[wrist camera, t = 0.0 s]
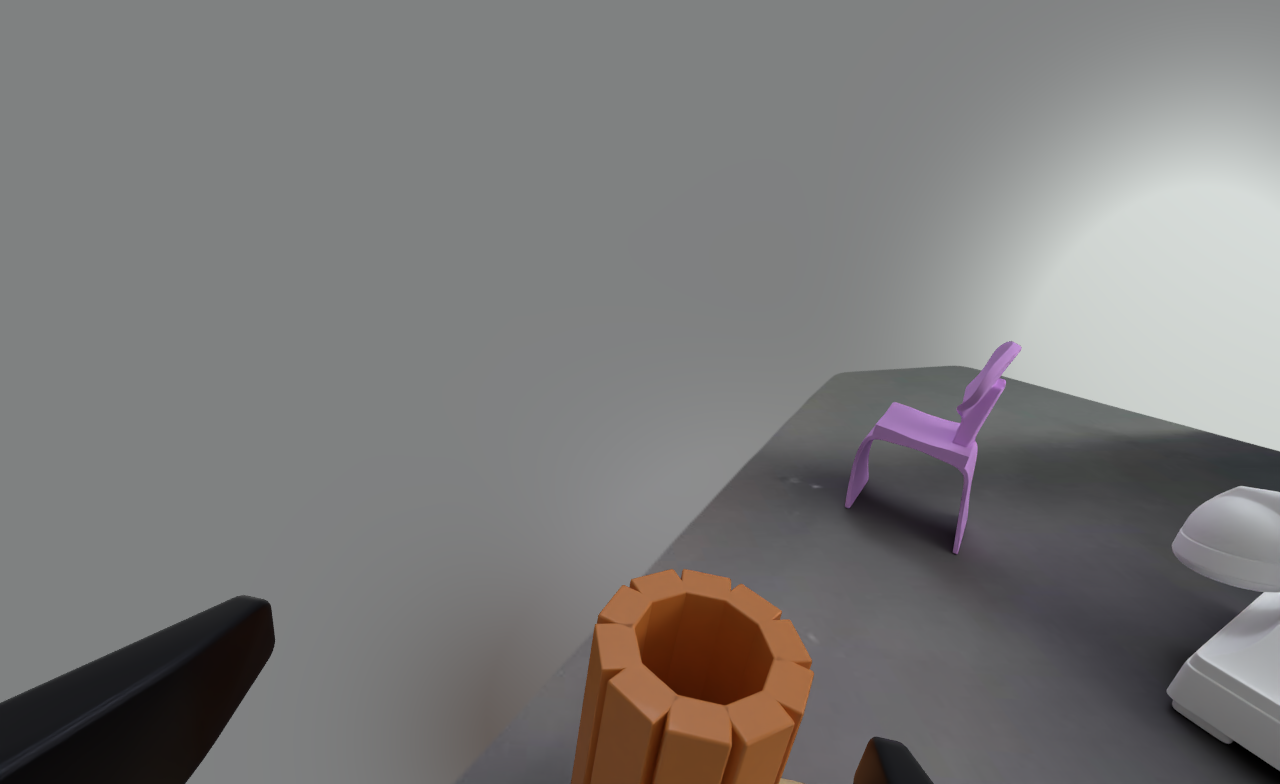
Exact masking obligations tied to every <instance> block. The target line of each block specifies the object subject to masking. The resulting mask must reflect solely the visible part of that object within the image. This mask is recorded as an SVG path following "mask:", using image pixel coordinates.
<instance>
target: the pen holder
mask: <svg viewBox="0 0 1280 784" xmlns="http://www.w3.org/2000/svg"><path fill="white" fill-rule="evenodd" d="M781 614H782V611H781V610H779V609H778V608H777V607H775V606H774V605H772V604H771V603H769V602H768V601H766V600H765V599H763V598H762V597H760V596H759V595H758V594H756V593H755V592H753V591H752V590H750V589H749V588H747V587H746V586H744V585H743V584H739V585H738V586H737V587H735V588H734V589H733V590H731V579H730V578H725V577H721V576H716V575H711V574H706V573H701V572H697V571H692V570H687V569H683V571H682V576H681V578H680V577H679V576H678V575H677V573H676V572H675V571H674V570H673V569H670V570H666V571H662V572H658V573H654V574H650V575H646V576H642V577H638V578H634V579H631V582H630V587H627V586H625V585H622V586H621V588H620V589H619V590H618V591H617V592H616V594H615V595H614V596H613V597H612V599H611V600H610V601H609V602H608V604H607V605H606V606H605V607H604V609H603V610H602V611H601V612H600V614H599V615H598V621H597V624H595V628H594V634H593V641H592V647H591V654H590V661H589V667H588V674H587V681H586V687H585V694H584V701H583V707H582V714H581V720H580V727H579V734H578V740H577V747H576V754H575V760H574V767H573V773H572V780H571V784H779V782H780V779H781V777H782V774H783V771H784V768H785V765H786V763H787V760H788V757H789V754H790V751H791V749H792V746H793V743H794V740H795V737H796V735H797V732H798V729H799V726H800V723H801V720H802V718H803V715H804V711H805V707H806V703H807V699H808V696H809V692H810V688H811V684H812V680H813V676H814V672H813V671H811V670H810V667H811V664H812V660H811V658H810V656H809V654H808V652H807V650H806V648H805V647H804V645H803V643H802V641H801V639H800V637H799V635H798V633H797V632H796V630H795V628H794V626H793V624H792V622H791V621H790V620H780V617H781Z"/></svg>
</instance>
